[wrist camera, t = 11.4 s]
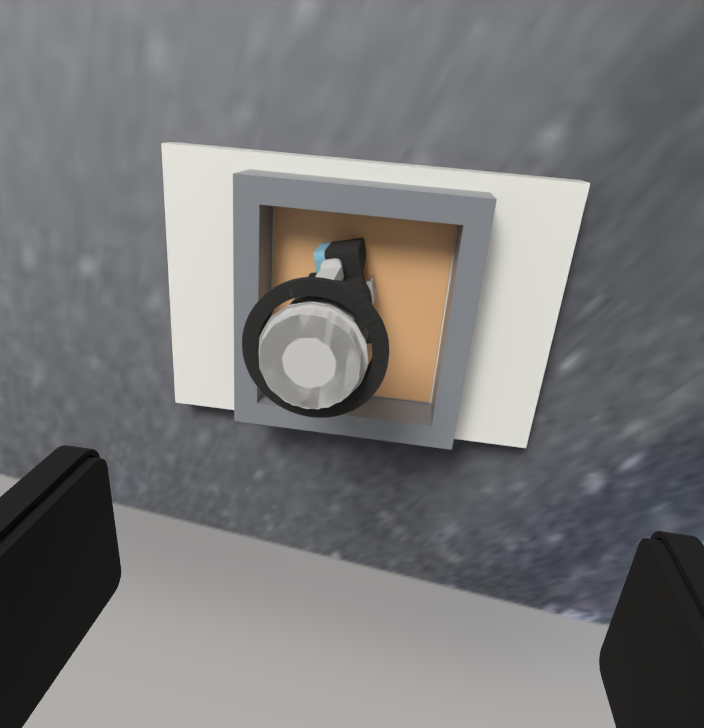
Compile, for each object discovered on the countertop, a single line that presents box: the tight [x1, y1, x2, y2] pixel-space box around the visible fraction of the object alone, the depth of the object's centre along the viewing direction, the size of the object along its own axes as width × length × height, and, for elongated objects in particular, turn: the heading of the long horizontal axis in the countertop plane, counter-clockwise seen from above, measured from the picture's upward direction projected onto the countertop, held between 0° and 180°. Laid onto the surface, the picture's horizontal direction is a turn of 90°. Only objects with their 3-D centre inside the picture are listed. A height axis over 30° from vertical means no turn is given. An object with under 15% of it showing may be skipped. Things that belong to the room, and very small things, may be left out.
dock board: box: [161, 142, 590, 450], centre depth 28 cm, size 20×14×4 cm
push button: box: [242, 238, 389, 418], centre depth 24 cm, size 7×5×10 cm
